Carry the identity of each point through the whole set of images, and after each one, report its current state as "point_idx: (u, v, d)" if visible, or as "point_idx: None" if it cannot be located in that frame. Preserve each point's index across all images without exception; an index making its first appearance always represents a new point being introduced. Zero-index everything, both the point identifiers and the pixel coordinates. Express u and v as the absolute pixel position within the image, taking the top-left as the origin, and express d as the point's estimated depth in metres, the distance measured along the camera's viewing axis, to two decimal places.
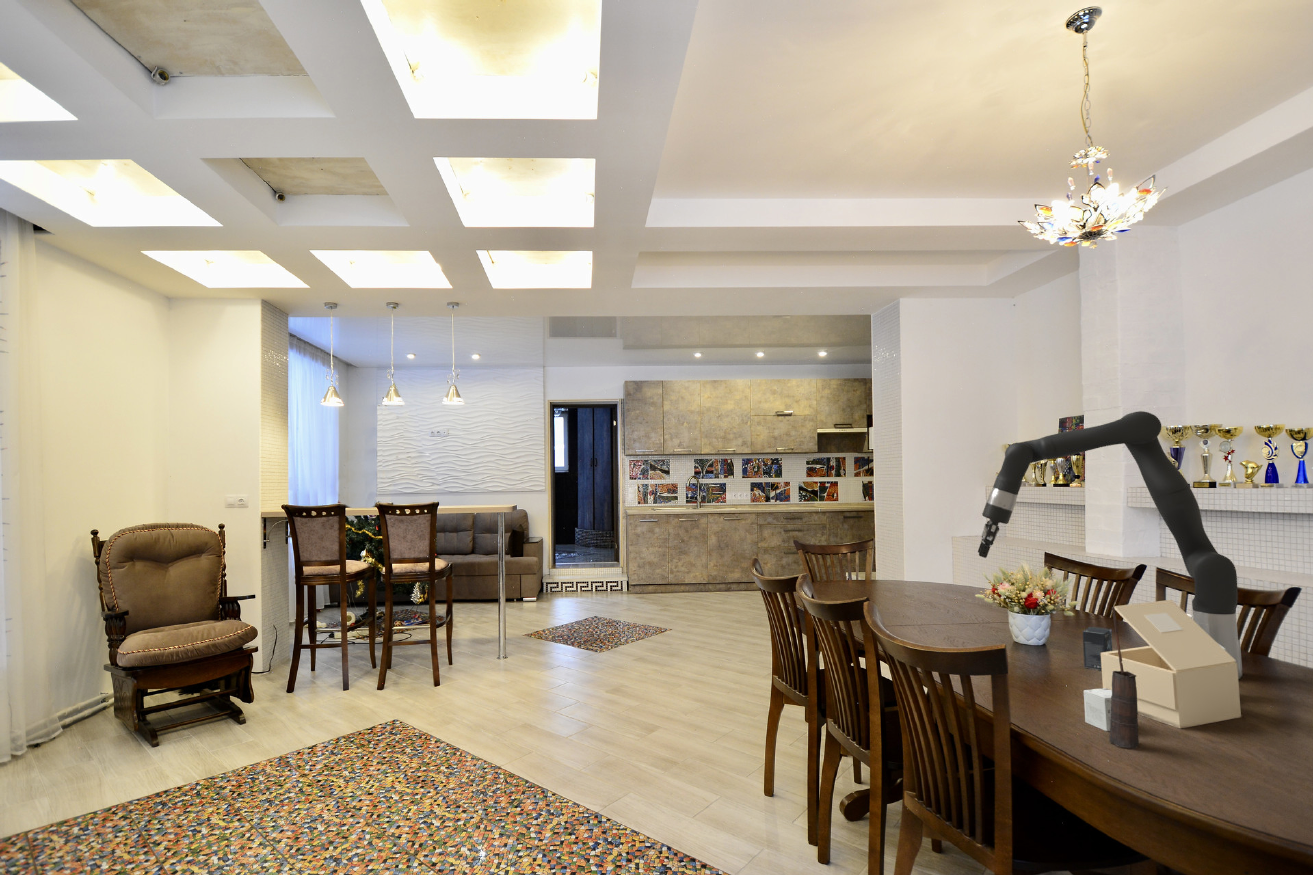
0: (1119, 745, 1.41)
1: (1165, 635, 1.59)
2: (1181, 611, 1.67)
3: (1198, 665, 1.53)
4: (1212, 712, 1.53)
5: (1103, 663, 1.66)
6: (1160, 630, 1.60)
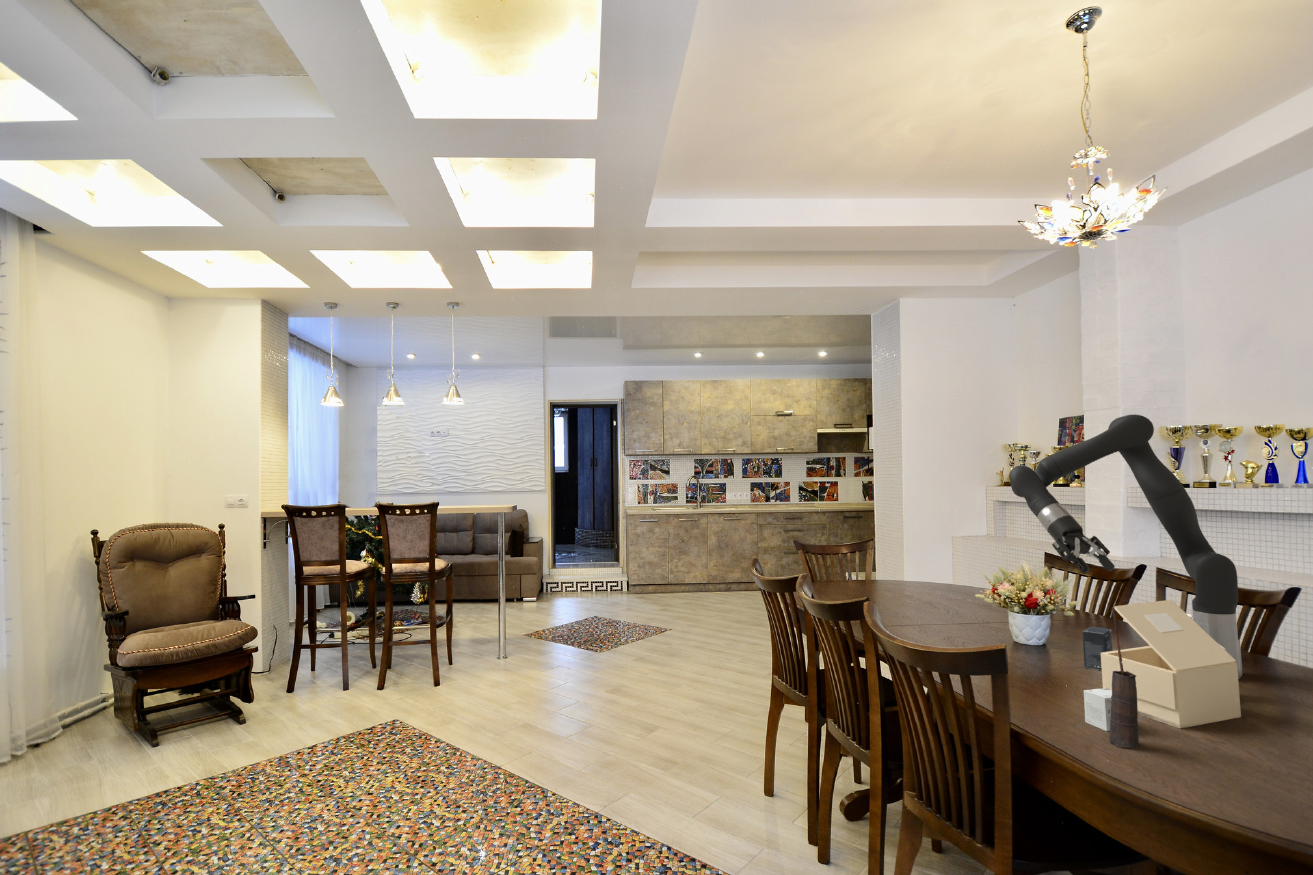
0: (1119, 745, 1.41)
1: (1165, 635, 1.59)
2: (1181, 611, 1.67)
3: (1198, 665, 1.53)
4: (1212, 712, 1.53)
5: (1103, 663, 1.66)
6: (1160, 630, 1.60)
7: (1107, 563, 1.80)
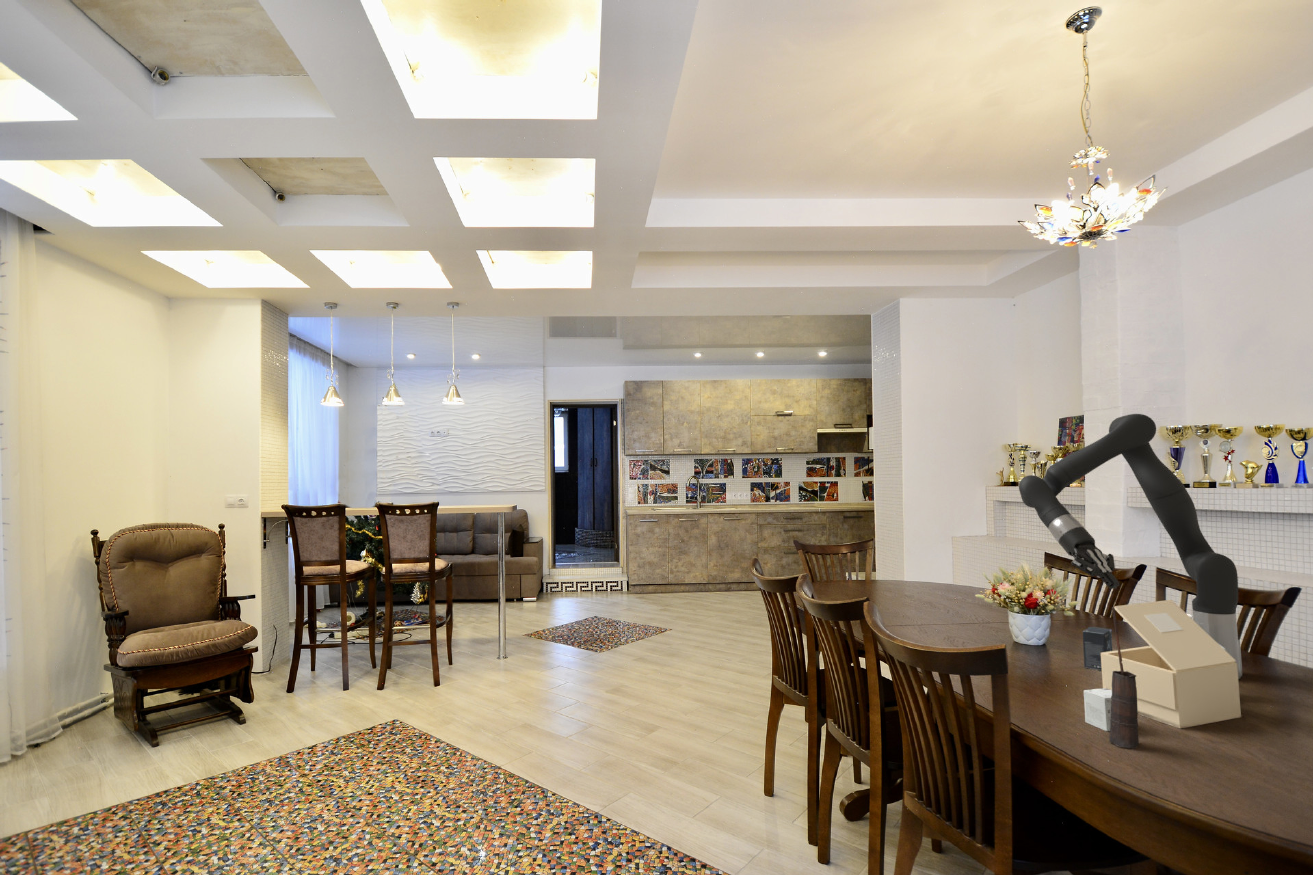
0: (1119, 745, 1.41)
1: (1165, 635, 1.59)
2: (1181, 611, 1.67)
3: (1198, 665, 1.53)
4: (1212, 712, 1.53)
5: (1103, 663, 1.66)
6: (1160, 630, 1.60)
7: None
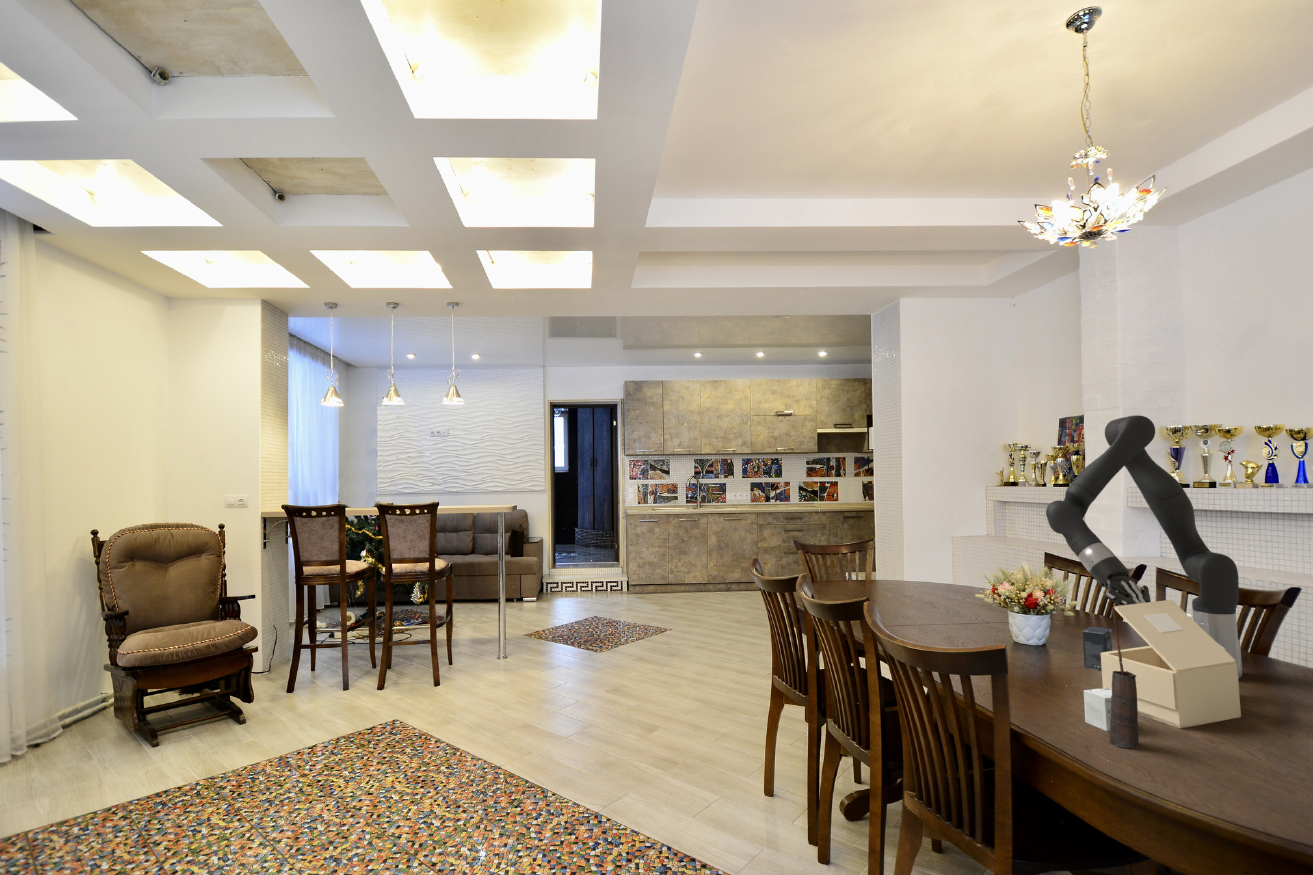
0: (1119, 745, 1.41)
1: (1165, 635, 1.59)
2: (1181, 611, 1.67)
3: (1198, 665, 1.53)
4: (1212, 712, 1.53)
5: (1103, 663, 1.66)
6: (1160, 630, 1.60)
7: None
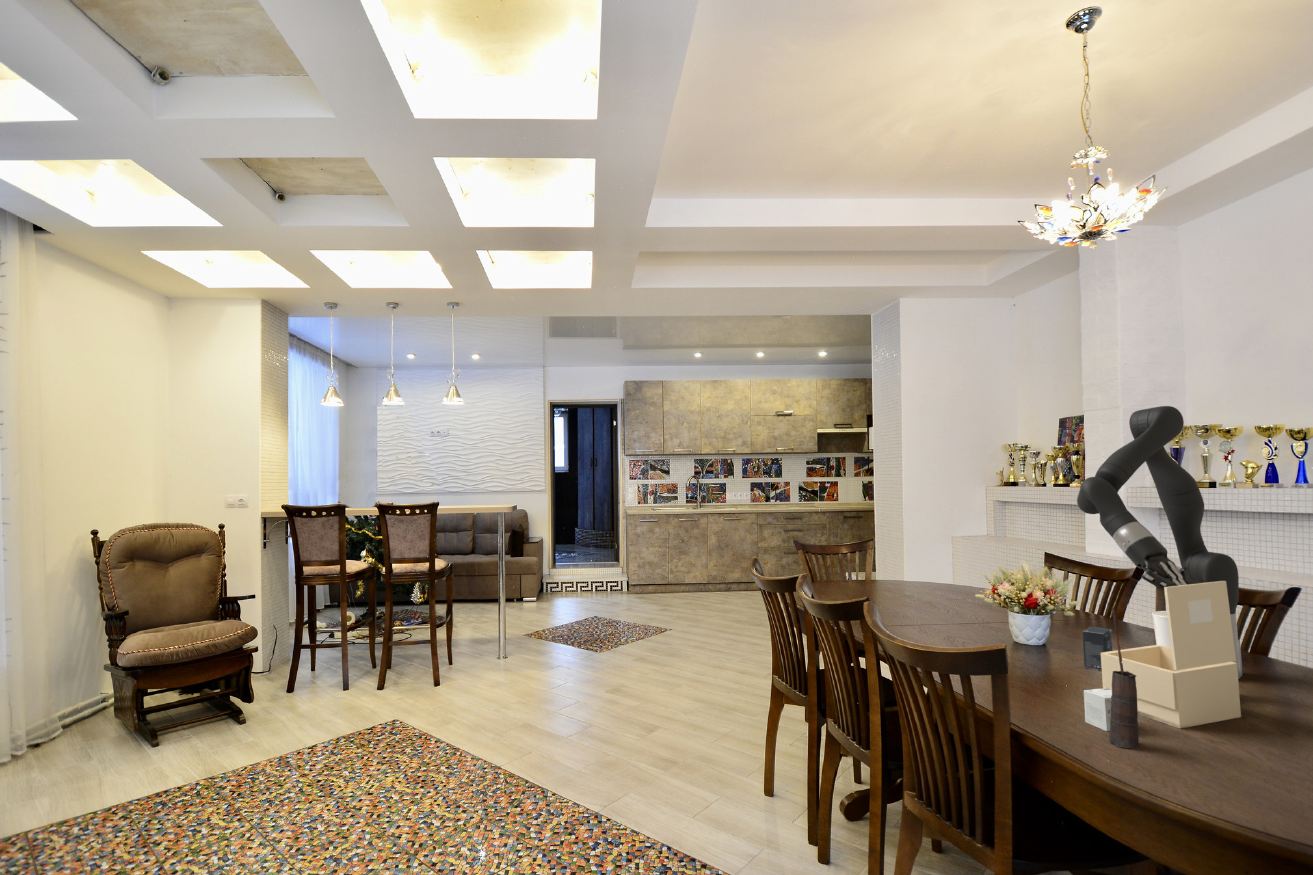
0: (1119, 745, 1.41)
1: (1192, 627, 1.53)
2: (1225, 597, 1.57)
3: (1199, 665, 1.53)
4: (1212, 712, 1.53)
5: (1103, 663, 1.66)
6: (1191, 620, 1.53)
7: None
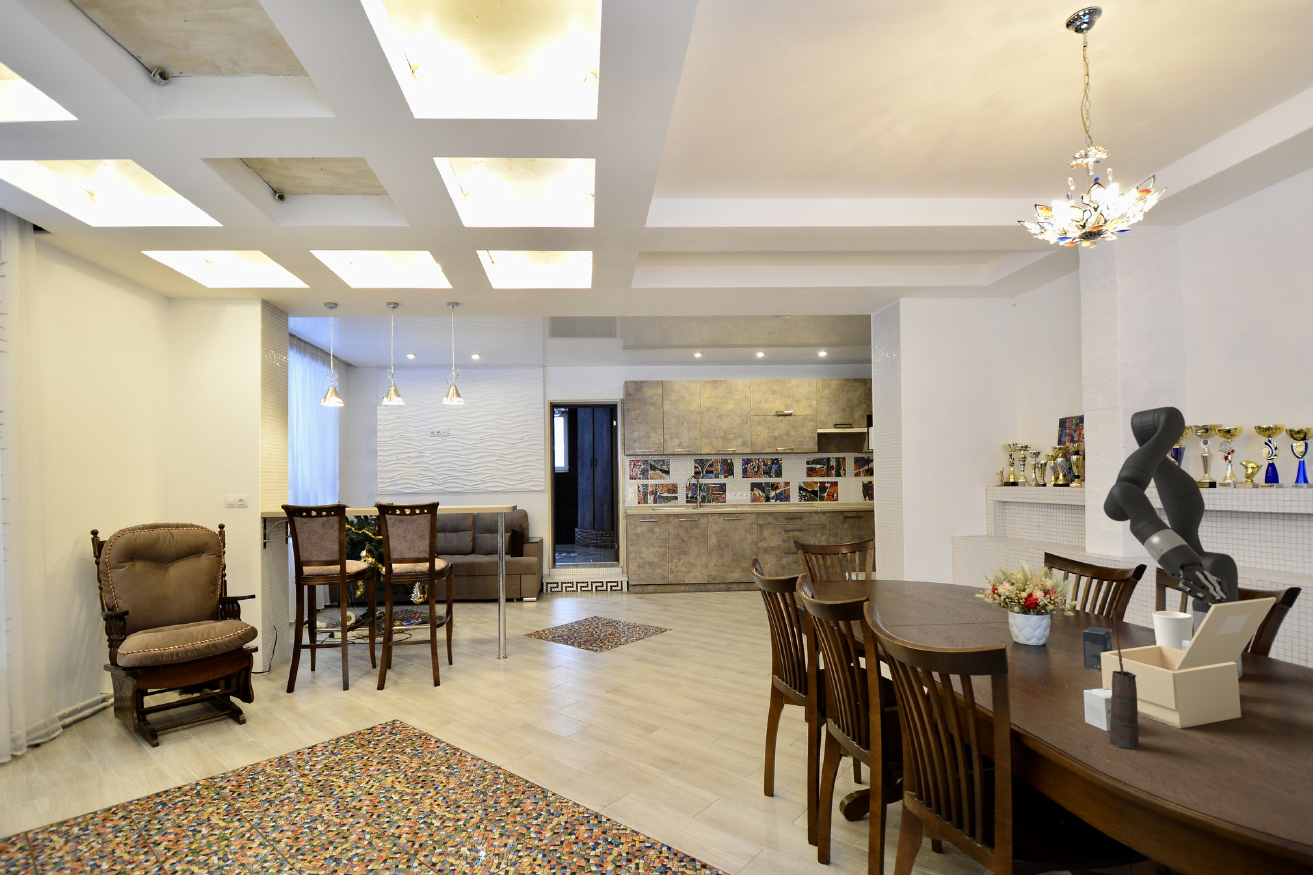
0: (1119, 745, 1.41)
1: (1215, 637, 1.48)
2: (1265, 612, 1.49)
3: (1200, 665, 1.52)
4: (1212, 712, 1.53)
5: (1103, 663, 1.66)
6: (1218, 632, 1.48)
7: None
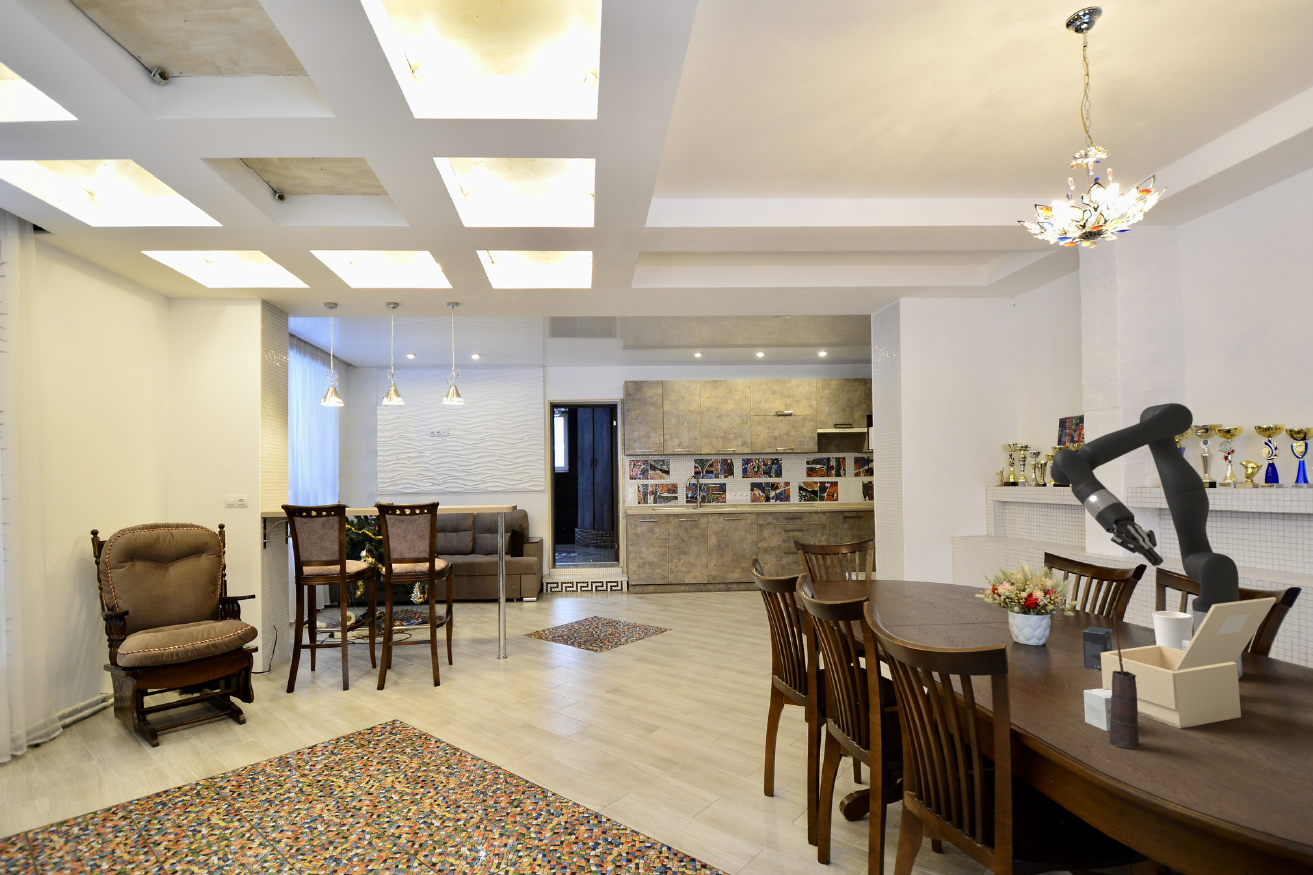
0: (1119, 745, 1.41)
1: (1215, 637, 1.48)
2: (1265, 612, 1.49)
3: (1200, 665, 1.52)
4: (1212, 712, 1.53)
5: (1103, 663, 1.66)
6: (1218, 632, 1.48)
7: None
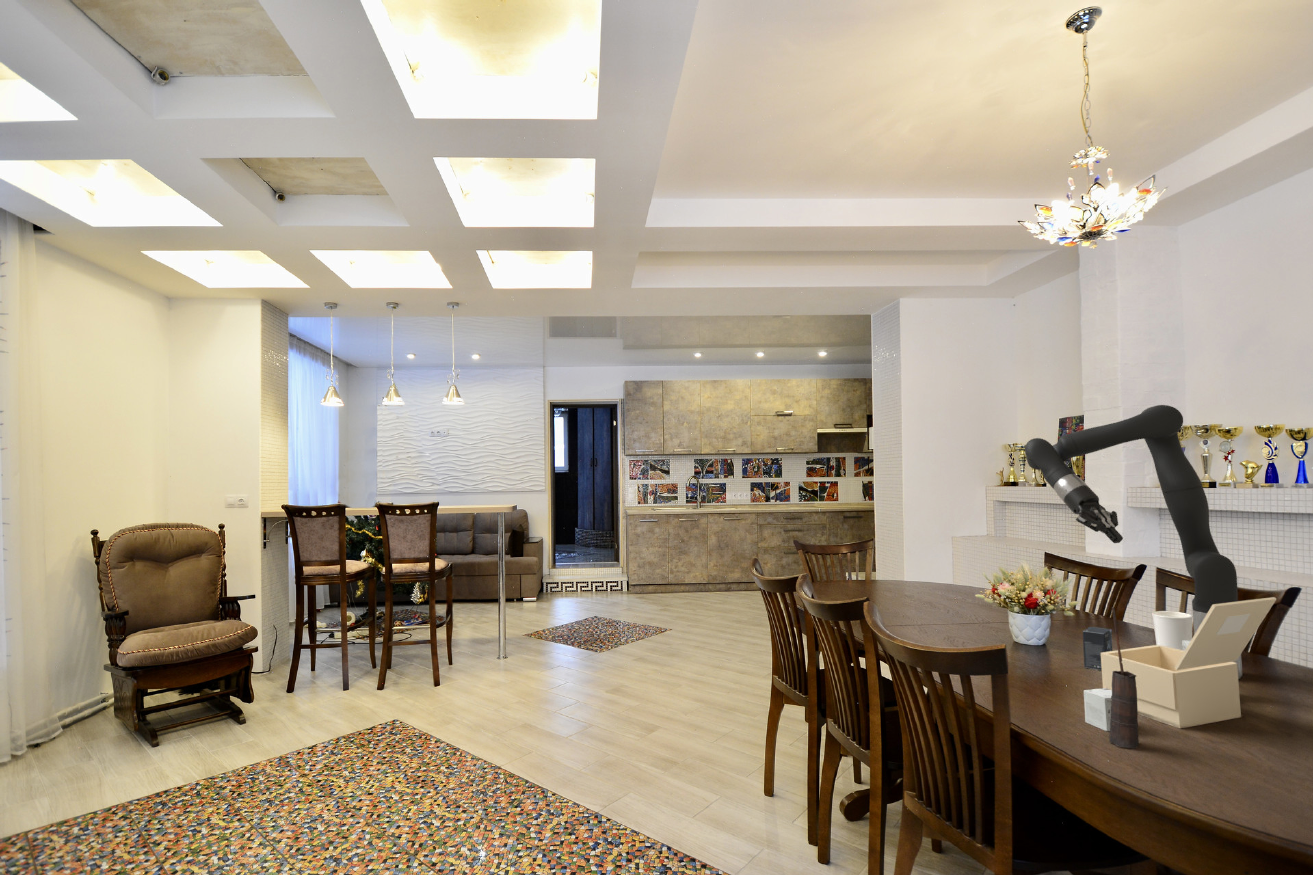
0: (1119, 745, 1.41)
1: (1215, 637, 1.48)
2: (1265, 612, 1.49)
3: (1200, 665, 1.52)
4: (1212, 712, 1.53)
5: (1103, 663, 1.66)
6: (1218, 632, 1.48)
7: None
